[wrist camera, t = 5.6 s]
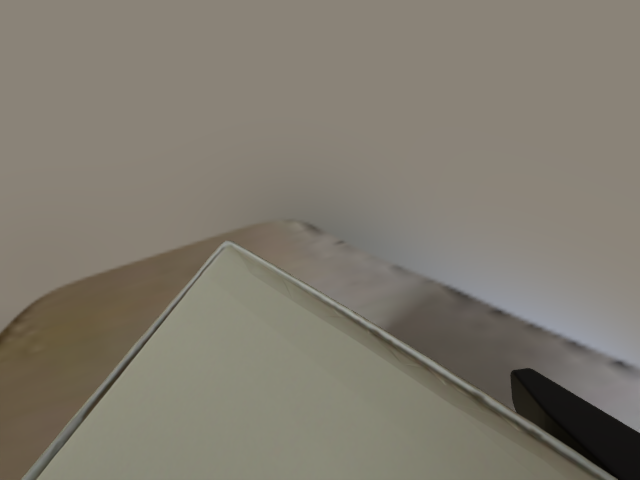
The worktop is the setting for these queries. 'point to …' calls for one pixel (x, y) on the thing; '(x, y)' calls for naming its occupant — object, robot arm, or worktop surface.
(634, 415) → the worktop surface
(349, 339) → the skincare box
